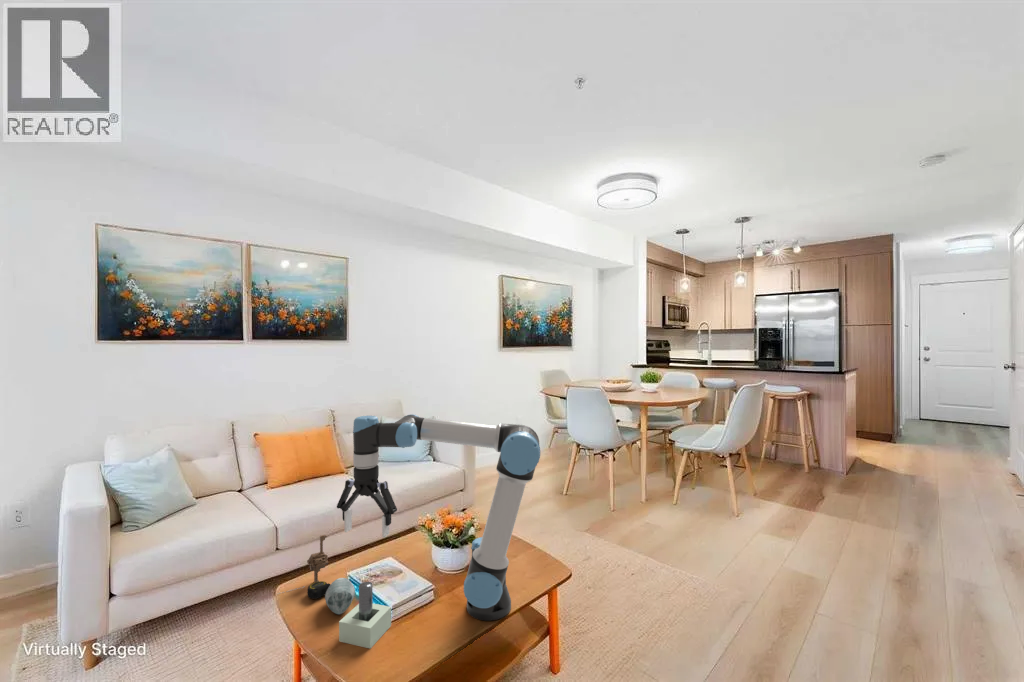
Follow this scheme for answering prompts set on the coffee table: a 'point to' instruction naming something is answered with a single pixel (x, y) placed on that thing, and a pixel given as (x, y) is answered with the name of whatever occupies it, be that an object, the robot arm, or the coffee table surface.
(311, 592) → the tape measure
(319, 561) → the ostrich figurine
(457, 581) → the coffee table surface
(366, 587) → the grey metal cylinder
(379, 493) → the robot arm
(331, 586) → the grey rounded lump
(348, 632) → the green block with hole
